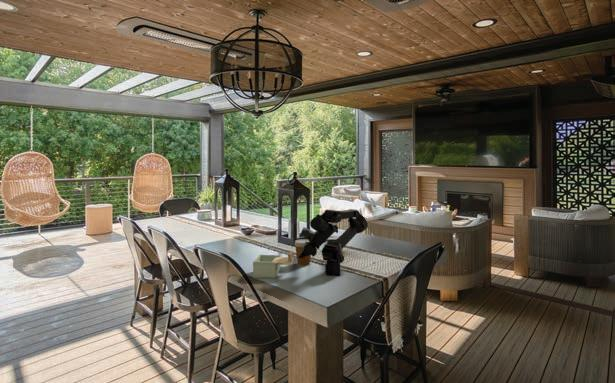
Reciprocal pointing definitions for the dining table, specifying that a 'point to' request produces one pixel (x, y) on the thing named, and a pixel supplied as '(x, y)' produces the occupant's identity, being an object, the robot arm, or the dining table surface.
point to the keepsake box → (265, 267)
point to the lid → (284, 259)
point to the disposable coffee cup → (299, 248)
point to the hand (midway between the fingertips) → (299, 257)
